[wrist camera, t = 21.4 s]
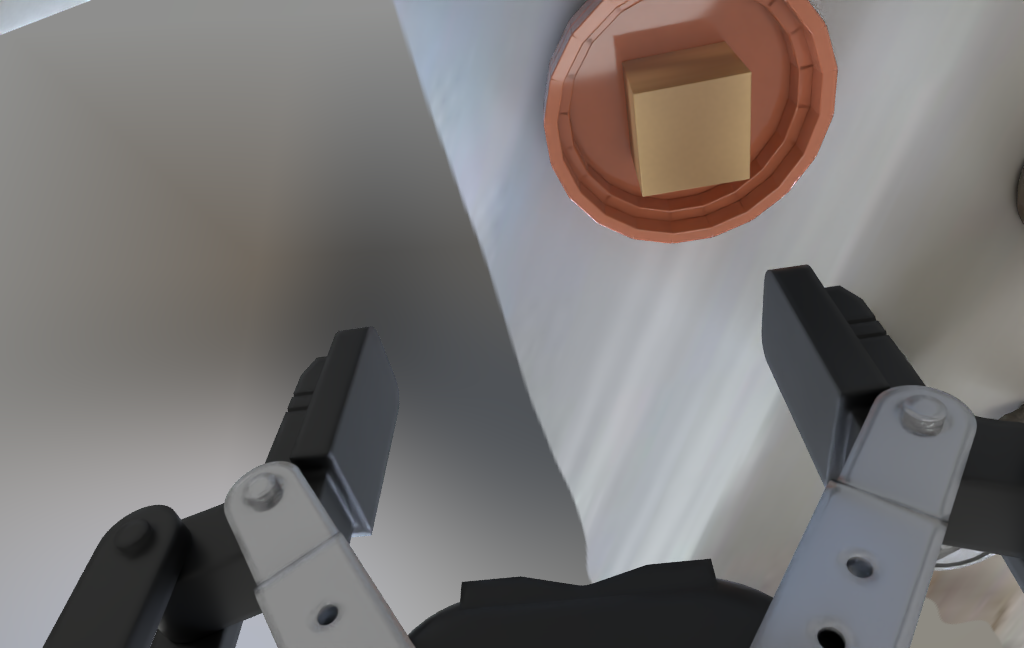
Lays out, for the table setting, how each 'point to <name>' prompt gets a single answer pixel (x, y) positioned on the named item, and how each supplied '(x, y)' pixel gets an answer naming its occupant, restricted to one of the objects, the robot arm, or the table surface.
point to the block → (688, 118)
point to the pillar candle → (1021, 196)
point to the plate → (671, 27)
